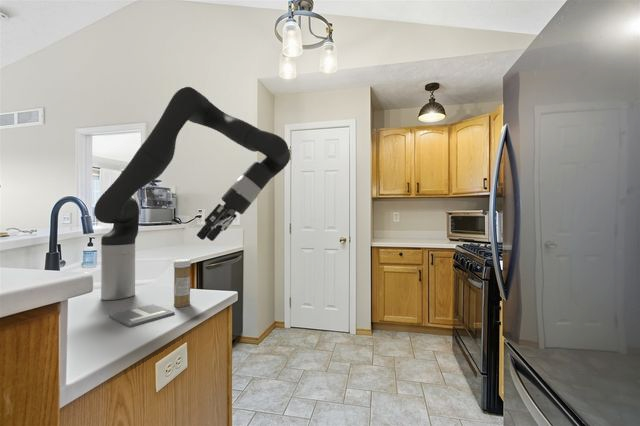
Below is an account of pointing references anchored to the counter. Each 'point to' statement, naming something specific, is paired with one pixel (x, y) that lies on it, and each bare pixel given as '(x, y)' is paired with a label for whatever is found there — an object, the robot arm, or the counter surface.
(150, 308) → the letter mat
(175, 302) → the spice jar
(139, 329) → the counter surface
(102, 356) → the counter surface
